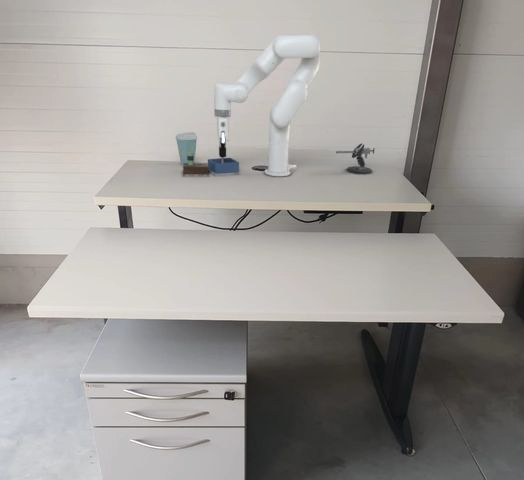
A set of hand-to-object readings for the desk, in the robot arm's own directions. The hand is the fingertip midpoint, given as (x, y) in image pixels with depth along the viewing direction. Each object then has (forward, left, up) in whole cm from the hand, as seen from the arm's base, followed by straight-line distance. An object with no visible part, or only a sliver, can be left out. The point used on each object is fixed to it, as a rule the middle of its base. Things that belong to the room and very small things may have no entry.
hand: (222, 155), depth 238 cm
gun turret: (-65, +17, -8) cm, 67 cm away
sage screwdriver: (+16, -1, -7) cm, 17 cm away
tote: (0, 0, -8) cm, 8 cm away
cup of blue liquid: (+11, -20, -8) cm, 24 cm away
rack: (+14, 0, -8) cm, 16 cm away
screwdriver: (0, 0, -4) cm, 4 cm away
